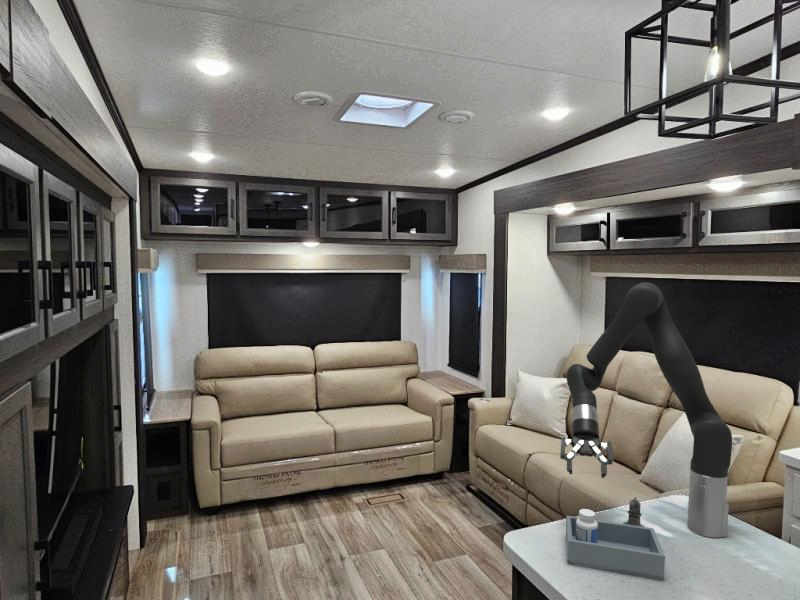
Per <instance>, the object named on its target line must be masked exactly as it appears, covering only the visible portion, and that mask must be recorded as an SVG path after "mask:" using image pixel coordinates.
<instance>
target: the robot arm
mask: <svg viewBox="0 0 800 600" xmlns="http://www.w3.org/2000/svg"><path fill="white" fill-rule="evenodd" d="M642 322H643V323H644V325H645V327H646V329H647V331H648V334H649V338H650V343H651V347H652V351H653V355H654V357H655V360H656V363H657V364H658V366H659V368H660V370H661V371H660V372H661V373H662V375H663V377H664V379H665V380H666V382H667V384H668V385H669V388H671V390H672V392H673V393H674V394H675V396H676V398H677V399H678V401H679V402H680V404H681V406H682V408H683V411H684V413H685V416H686V419H687V422H688V425H689V428H690V431H691V434H692V437H693V447H692V457H691V459H690V468H689V469H690V470H689V484H688V485H689V487H688V505H687V507H688V508H687V522H686V523H687V524H686V525H687V529H689V530H690V531H692V532H694V533H695V534H698V535H700V536H703V537H708V538H716V539H717V538H727V537H728V524H729V506H730V505H729V503H728V502H727V494H728V475H729V468H730V467H731V463H732V462H731V458H732V451H733V435H732V431H731V428H730V427H729V426H728V424H727V423H726V422H725V421H724V420H723V418H722V417H721V416H720V415H719V413H718V412H717V410H716V409H715V406H714V405H713V404H712V402H711V400H710V399H709V396H708V395H707V391H706V389H705V385H704V382H703V381H704V380H703V378H702V375H701V373H700V370H699V367H698V365H697V362H696V361H695V358H694V357H693V355H692V353H691V351H690V349H689V348H688V347H689V346H687V343H686V341H685V340H684V338H683V337H682V335H681V333H680V330H678V329H677V327H676V325H675V323H674V322H673V319H672V317H671V315H670V312H669V309H668V307H667V304H666V301H665V297H664V295H663V291H662V290H661V289H660V288H659V287H658V286H657V285H656V284H654V283H652V282H649V281H648V282H646V281H643V282H639V283H638V284H635V285H634V286H632V287H631V288H630V289H629V290H628V292H627V293H626V296H625V298H624V300H623V302H622V305H621V307H620V308H619V310H618V312H617V314H616V316H615V317H614V319H613V320H612V321H611V323H610V324H609V326H607V328H606V329H605V331H604V332H602V334H601V335H600V336H599V337H598V339H597V340H596V342H595V343H594V344H593V345H592V347H591V348H590V350H589V351H587V352H588V353H587V354H586V360H587V361H588V362H589V364H591V366H593V367H592V368H589V367H587V366H585V365H583V364H580V363H574V364H572V365H571V366H570V367H569V368H568V369H567V372H566V382H567V386H568V389H569V391H570V396H571V398H572V413H571V439H568V438H567V437H565V436H562V437H561V441H560V456H559V457H560V459H561V460H565V461H566V471H567V472H568V474H569V475H573V460H574V458H576V457H577V456H578V455H579V456H583V457H585V456H586V457H588V458H589V457H590V458H591V457H594V458H595V460H597V461H598V462H599V463H600V475H601V476H600V477H601V479H605V477H607V474H608V468H607V467H608V465H610V466H611V465H613V462H614V454H613V452H614V451H613V447H612V446H613V445H612V442H611V441H606V442H602V441H601V440H600V427H599V415H598V408H597V407H598V406H597V403H598V402H597V396H596V394H595V393H594V391H596V390H597V389H599V387H600V386H601V384H602V382H603V379H604V376H605V374H606V371H607V369H608V367H609V365H610V364H611V363H612V361H613V360H614V359H615V357H616V356H617V355H618V353H619V352H620V350H621V349H622V348H623V346H624V344H625V343H626V341H627V340H628V338H629V337H630V335H631V333H632V332H633V331H634V330H635V329H636V328H637V327H638V326H639V325H640V324H641V323H642ZM569 445H570V446H572V449H571V451H570V452H569V453H566V448H567V447H568V446H569ZM601 448H603V450H604V451H605V452H606V457H607V458H606V457H605V456H604V455H603V453H602V451H601V450H600V449H601Z"/></svg>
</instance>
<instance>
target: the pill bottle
mask: <svg viewBox="0 0 800 600" xmlns="http://www.w3.org/2000/svg"><path fill="white" fill-rule="evenodd" d="M578 517H579V518H578V519H577V520H576V540H579V541H585V542H591V543H598V523H597V522H596V521H595V520H596V513H595V512H594V510H591V509H587V508H581V509H579V511H578Z"/></svg>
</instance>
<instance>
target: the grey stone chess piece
mask: <svg viewBox="0 0 800 600" xmlns="http://www.w3.org/2000/svg"><path fill="white" fill-rule="evenodd" d="M628 508H629V509H628V511H627V514H628V520H627V521H624V522H622V524H627V525H634V526H641V527H645V526H644V525H642V523H641V517H642V513H641V502H640V501H639V500H637V497H634V498H633V499H630V500H629V505H628Z"/></svg>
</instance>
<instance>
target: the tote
mask: <svg viewBox="0 0 800 600" xmlns="http://www.w3.org/2000/svg"><path fill="white" fill-rule="evenodd" d="M578 518H579V516H571V515H566V522H565V523H566V524H565V547H566V561H567V562H566V563H567V565H572V566H577V567H584V568H589V569H596V570H599V571H600V570H601V571H607V572H613V573H618V574H624V575H629V576H630V575H631V576H634V577H635V576H636V577H642V578H648V579H653V580H659V581H664V580H665V568H666V567H665V563H666V555H665V553H664V549H663V548H662V546H661V543H660V541H659V539H658V536H657V533H656V531H655V528H652V527H648V526H647V527H646V526H644V527H641V526H634V525H627V524H623V523H620V522H612V521H606V520H598V519H595V521H596V522H597V523H598V543H591V542H585V541H579V540H576V520H577V519H578Z"/></svg>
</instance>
